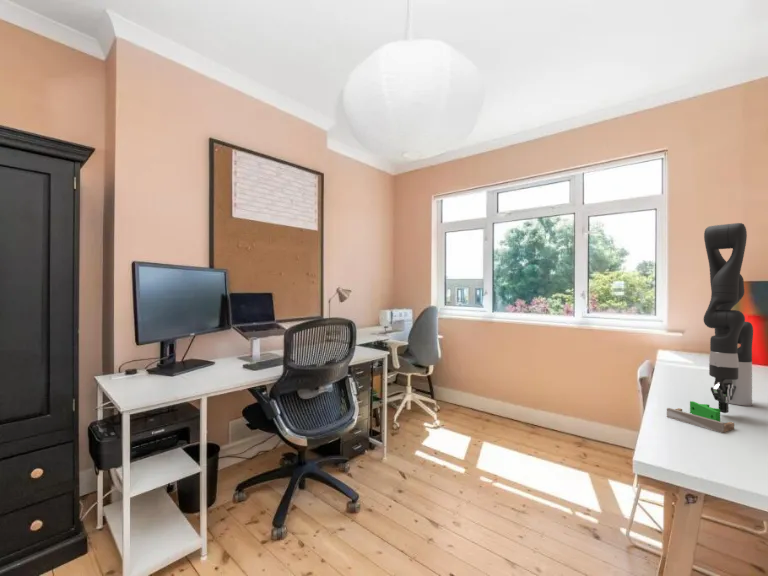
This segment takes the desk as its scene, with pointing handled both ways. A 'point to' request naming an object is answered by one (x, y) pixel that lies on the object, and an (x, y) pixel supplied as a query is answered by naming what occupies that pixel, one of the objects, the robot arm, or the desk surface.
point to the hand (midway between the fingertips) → (723, 412)
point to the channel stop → (699, 420)
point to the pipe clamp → (704, 411)
